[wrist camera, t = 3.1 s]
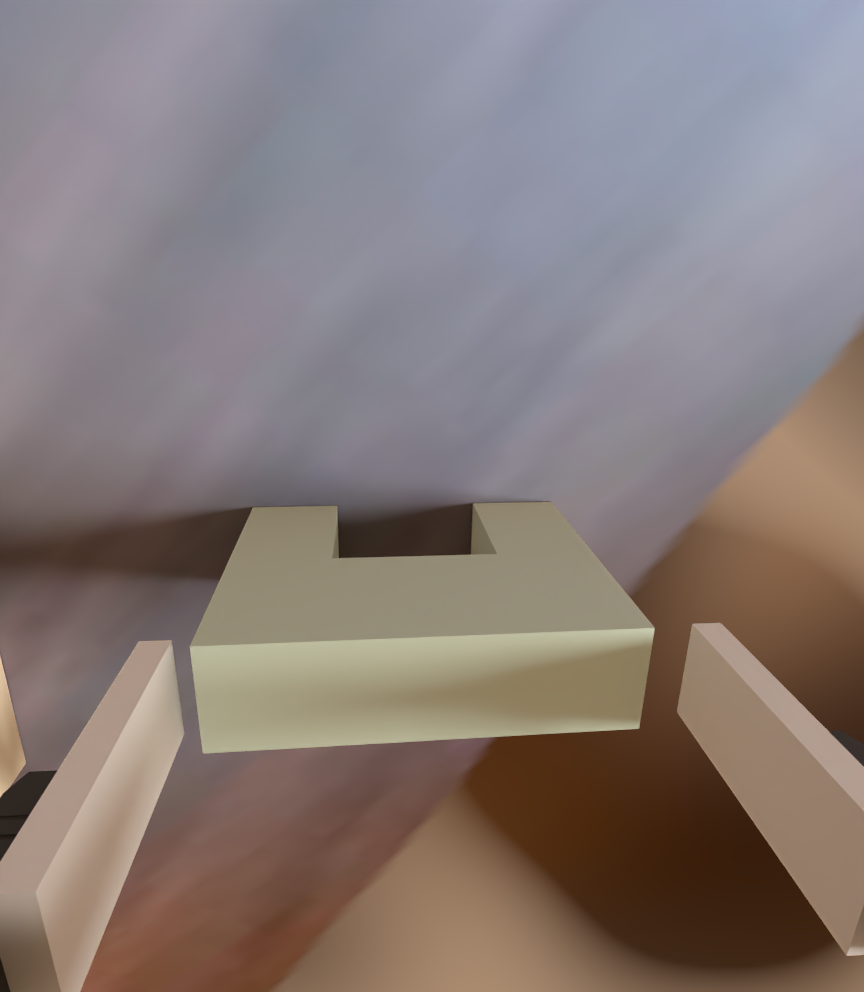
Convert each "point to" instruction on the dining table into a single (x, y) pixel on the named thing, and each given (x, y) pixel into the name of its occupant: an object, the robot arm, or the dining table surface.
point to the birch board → (8, 739)
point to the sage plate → (415, 637)
